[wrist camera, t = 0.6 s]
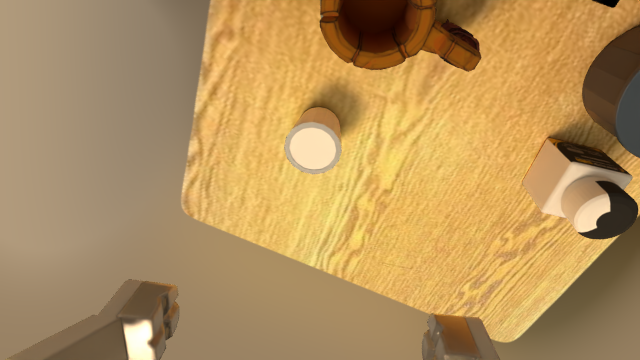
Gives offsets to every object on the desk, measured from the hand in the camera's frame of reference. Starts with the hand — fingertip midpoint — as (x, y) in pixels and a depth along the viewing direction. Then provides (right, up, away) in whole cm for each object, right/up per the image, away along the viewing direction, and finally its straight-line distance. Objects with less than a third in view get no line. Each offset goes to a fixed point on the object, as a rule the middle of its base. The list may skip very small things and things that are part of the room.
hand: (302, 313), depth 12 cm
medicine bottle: (+32, +6, +38) cm, 50 cm away
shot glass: (+1, +12, +39) cm, 40 cm away
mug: (+9, +24, +30) cm, 39 cm away
